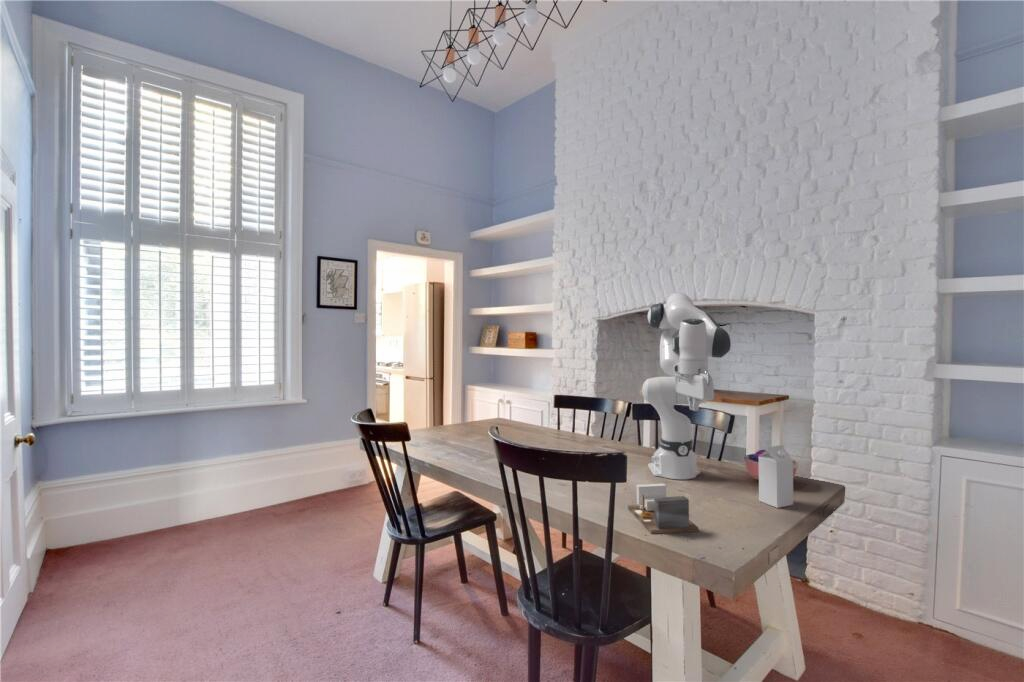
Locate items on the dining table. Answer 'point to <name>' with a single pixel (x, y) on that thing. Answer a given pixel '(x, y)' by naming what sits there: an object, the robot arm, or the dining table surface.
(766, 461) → the milk carton
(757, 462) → the cell model
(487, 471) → the dining table surface
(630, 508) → the gauge base
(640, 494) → the white bent piece
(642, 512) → the peak needle
